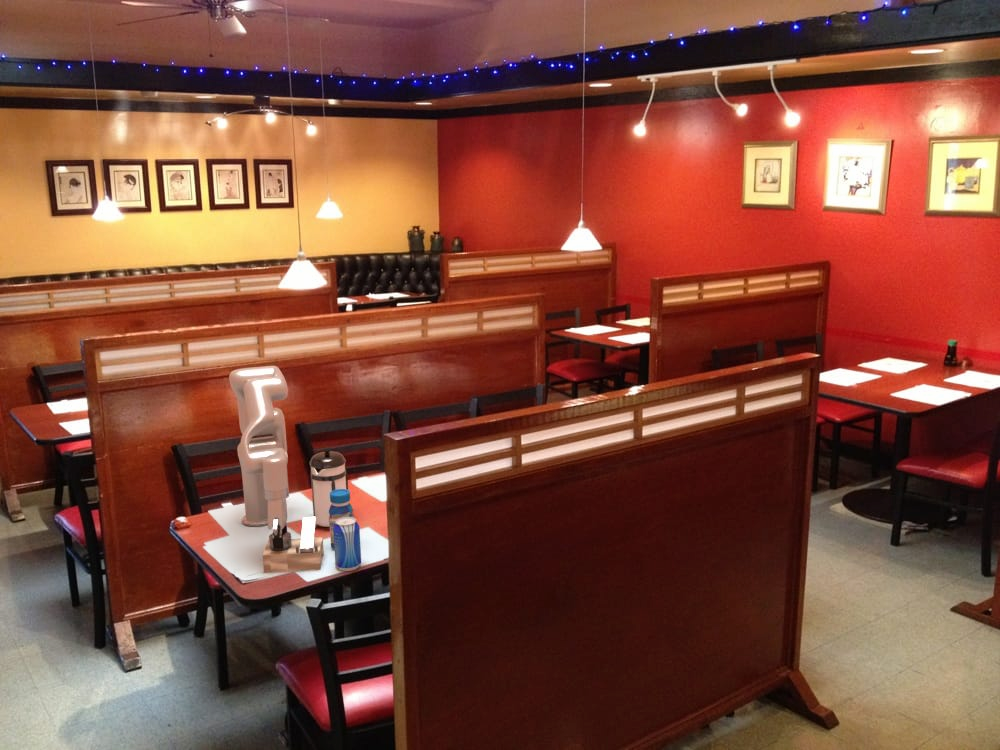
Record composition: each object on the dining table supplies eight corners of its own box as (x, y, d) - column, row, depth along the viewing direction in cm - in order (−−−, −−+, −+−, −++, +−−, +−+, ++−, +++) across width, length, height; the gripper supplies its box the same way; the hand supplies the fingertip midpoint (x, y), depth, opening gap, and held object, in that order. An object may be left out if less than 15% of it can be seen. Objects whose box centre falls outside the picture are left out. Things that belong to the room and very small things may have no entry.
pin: (272, 558, 281) (270, 531, 279) (294, 557, 282) (292, 530, 280) (269, 567, 275) (267, 540, 272) (291, 566, 275) (289, 539, 273)
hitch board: (269, 556, 284) (268, 535, 282) (323, 553, 286) (322, 532, 284) (263, 572, 272) (261, 550, 270) (320, 569, 274) (318, 547, 272)
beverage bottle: (360, 544, 292) (357, 490, 288) (343, 553, 285) (340, 498, 281) (342, 539, 297) (339, 486, 292) (325, 548, 290) (321, 493, 285)
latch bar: (303, 519, 282) (303, 516, 281) (315, 519, 283) (315, 516, 282) (300, 553, 272) (299, 550, 271) (313, 553, 273) (312, 550, 272)
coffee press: (358, 528, 306) (354, 450, 299) (314, 536, 300) (309, 455, 293) (349, 512, 322) (344, 436, 315) (306, 518, 316) (301, 442, 309)
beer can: (332, 563, 278) (330, 518, 274) (357, 559, 281) (355, 514, 278) (338, 574, 270) (335, 527, 267) (364, 569, 274) (361, 523, 270)
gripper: (269, 483, 281) (273, 532, 285) (260, 503, 264) (264, 554, 268) (292, 482, 282) (295, 531, 286) (284, 501, 265) (288, 553, 269)
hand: (280, 542), depth 277 cm, fingers open, 8 cm apart
